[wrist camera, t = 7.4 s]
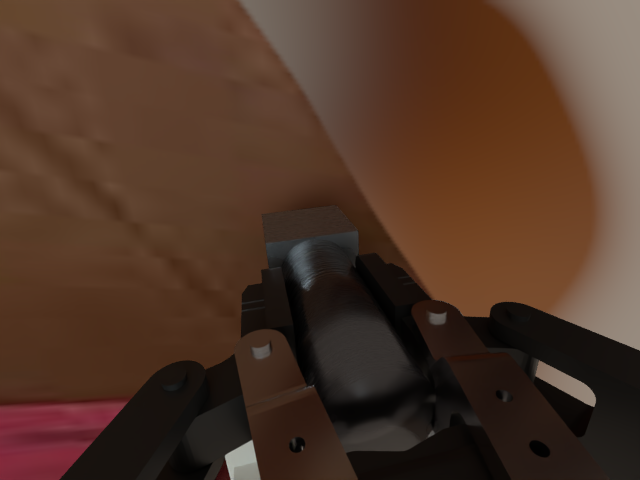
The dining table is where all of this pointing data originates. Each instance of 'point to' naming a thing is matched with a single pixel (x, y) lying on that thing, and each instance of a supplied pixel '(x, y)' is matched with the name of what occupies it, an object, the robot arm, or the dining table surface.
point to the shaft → (347, 334)
